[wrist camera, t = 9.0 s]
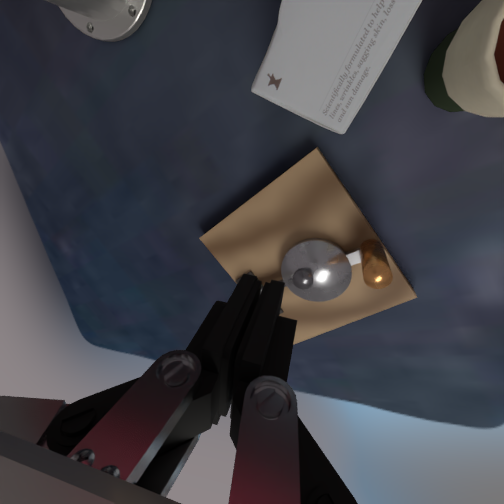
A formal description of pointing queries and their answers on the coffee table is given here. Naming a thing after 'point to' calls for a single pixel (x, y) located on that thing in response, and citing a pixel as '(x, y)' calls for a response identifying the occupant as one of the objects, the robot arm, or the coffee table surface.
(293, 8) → the skincare box
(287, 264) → the cam capstan
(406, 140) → the coffee table surface
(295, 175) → the stand
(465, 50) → the character mug
